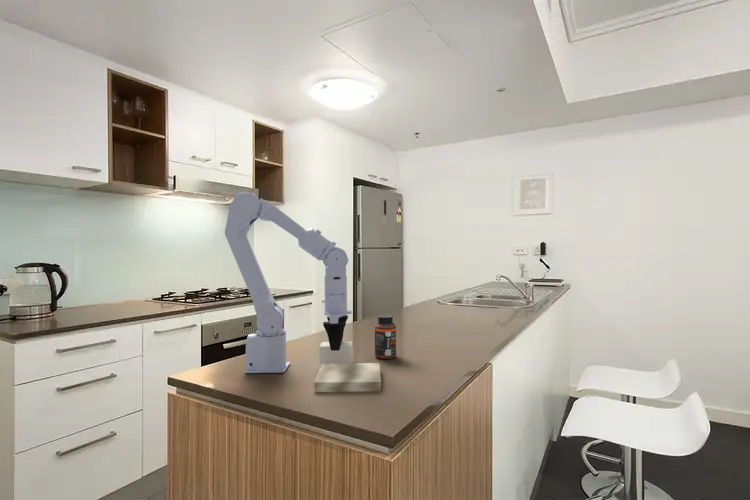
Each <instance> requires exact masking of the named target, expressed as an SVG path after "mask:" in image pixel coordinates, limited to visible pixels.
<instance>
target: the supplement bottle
mask: <svg viewBox="0 0 750 500" xmlns="http://www.w3.org/2000/svg"><path fill="white" fill-rule="evenodd" d="M393 319H394V318H393V315H391V314H390V315H389V314H388V315H387V314H381V315H378V316H377V321H378V322H377V323H376V324H375V325H374V357H375V358H376V359H380V360H391V359H392V360H393V359H394V358H396V357H397V326H396V324H395V323H394V322H393V321H394V320H393Z"/></svg>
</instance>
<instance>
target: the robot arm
mask: <svg viewBox="0 0 750 500" xmlns="http://www.w3.org/2000/svg"><path fill="white" fill-rule="evenodd" d="M227 214H228V215H227V219H226V222H225V223H226V225H225V229H224V235H225V238H226V241H227V243H228V246H229V247H230V251H231V252H232V254H233V257H234V260H235V262H236V264H237V266H238V269H239V272H240V274H241V276H242V278H243V281H244V283H245V286H246V288H247V290H248V293H249V294H250V297H251V300H252V302H253V303H252V304H253V308H254V311H255V313H256V326H257V330H256V332H255V333H249V334H248V335H247V337H246V341H245V342H246V343H245V370H244V371H245V372H244V373H245V374H272V373H273V374H275V373H277V374H279V373H280V374H283V373H285V372H286V370H287V369H288V368H289V366H290V365H291V362H290V361H287V331H286V329H285V328H283V327H284V320H285V313H284V312H285V311H284V310H283V308H282V307H281V306H280V305H278V304H277V302H276V301H275V298H274V296H273V294H272V293H271V290H270V288H269V285H268V284H267V281H266V279H265V276H264V273H263V271H262V269H261V267H260V264H259V261H258V260H257V259H258V258H257V257H256V255H255V252H254V250H253V248H252V245H251V241H249V238H248V233H249V231H250V230H251V227H252V226H253V224H254V223H255V222H256V221H257V220H258V219H259V220H261V221H264V222H265V221H266V222H272V223H274V224H275V225H276V226H278V227H280V228H281V229H282V230H284V231H285V232H287V233H288V234H290V235H291V236H293V237H294V238H296V239H297V241H298V246H299V247H300V248H301V249H302V250H303V251H304V252H306V253H307V254H309V255H310V256H312V257H313V258H315V259H316V260H318V261H322V263H323V265H324V266H325V268H324V269H325V271H324V272H325V273H324V274H325V275H324V311H323V314H324V316H326V319H327V321H323V323H322V326H323V328H324V329H325V331H326V334H327V337H328V342H329V344H330V348H331V351H339V350H340V346H341V341H342V342H343V338H344V330H345V327H346V325H347V320H348V319H349V315H351V314H353V312H352V310H351V309H348V285H347V284H348V280H347V279H348V276H347V266H348V263H349V258H348V255H347V252H345V250H344V249H342V248H340V247H337V246H336V245H337V243H336V242H335V241H331V240H329V239H328V238H326V236H324V235H323V234H322V231H321V230H319V229H318V228H317V229H316V230H315V229H314V228H307V229H306V228H304V227H303V226H301V225H300V224H299V223H297V222H296V221H295V220H294V219H292V218H291V217H290V216H288V215H287V214H286V213H284V212H283V211H282V210H280V208H278V207H277V206H275V205H274V204H272V203H270V202H269V201H267V200H265V199H263V198H260V197H258V196H257V195H256V194H254V193H253V192H250V191H242V192H239V193H238V194H237V195H236V196H234V198H233V200H232V201H231V202H230V204H229V205H228V213H227Z"/></svg>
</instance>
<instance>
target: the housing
mask: <svg viewBox="0 0 750 500" xmlns="http://www.w3.org/2000/svg"><path fill="white" fill-rule="evenodd" d="M337 363H353V341H343V340H342V341H341V346H340V350H339V351H331V348H330V344H329V341H322V342H321V343H320V345H319V368H320V367H321V365H322V364H337Z"/></svg>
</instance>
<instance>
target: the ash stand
mask: <svg viewBox="0 0 750 500" xmlns="http://www.w3.org/2000/svg"><path fill="white" fill-rule="evenodd" d="M381 375H382V374H381V366H380V363H379V362H360V363H359V362H357V363H355V362H352V363H337V364H322V365H321V367H320V366H319V370H318V372H317V375H316V378H315V379H314V384H313V385H314V386H313V387H314V388H313V389H314V393H341V392H342V393H344V392H346V393H348V392H350V393H351V392H355V393H357V392H382V378H381V377H382V376H381Z"/></svg>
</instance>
